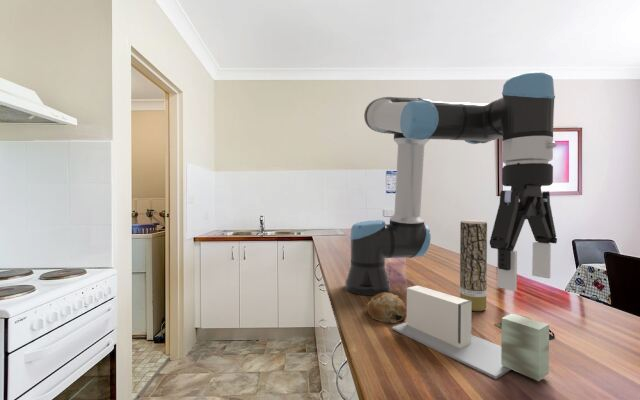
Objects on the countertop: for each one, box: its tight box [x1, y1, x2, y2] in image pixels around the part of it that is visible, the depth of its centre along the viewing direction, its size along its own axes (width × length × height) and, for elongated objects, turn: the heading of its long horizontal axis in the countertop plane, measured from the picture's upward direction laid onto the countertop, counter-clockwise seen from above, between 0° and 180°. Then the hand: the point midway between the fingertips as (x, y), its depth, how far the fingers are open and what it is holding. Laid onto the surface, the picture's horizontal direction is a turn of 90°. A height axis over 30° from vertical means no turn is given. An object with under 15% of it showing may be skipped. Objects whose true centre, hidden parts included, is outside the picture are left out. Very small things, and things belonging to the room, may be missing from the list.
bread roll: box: [366, 292, 407, 324], centre depth 81 cm, size 10×10×8 cm
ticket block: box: [391, 285, 512, 380], centre depth 66 cm, size 24×12×10 cm, turn 34°
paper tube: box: [459, 219, 488, 312], centre depth 87 cm, size 7×7×25 cm
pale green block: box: [500, 313, 550, 382], centre depth 54 cm, size 6×4×9 cm, turn 34°
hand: (525, 282), depth 54 cm, fingers open, 13 cm apart
